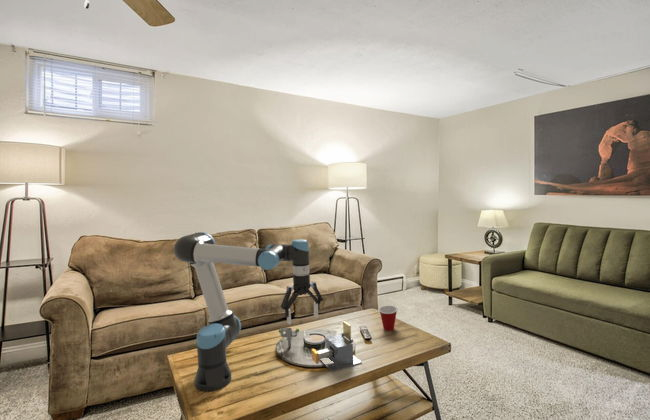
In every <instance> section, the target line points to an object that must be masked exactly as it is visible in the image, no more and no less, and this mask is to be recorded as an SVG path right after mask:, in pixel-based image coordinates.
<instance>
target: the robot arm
mask: <svg viewBox="0 0 650 420" xmlns="http://www.w3.org/2000/svg"><path fill="white" fill-rule="evenodd" d="M309 247H310V246H309V242H308V240H307V239H304V238H303V239H301V238H299V239H293V240H292V241H291V243H290V244H275V243H274V244H268V245H266V246H265V248H258V247H248V246H247V247H246V246H237V245H235V246H234V245H227V244H226V245H222V244H216V241H215V239H214V237H213V236H212V235H211V234H210V233H208V232H204V231H201V232H195V233H191V234H188V235H184V236H181V237H180V238H178V239H177V240H176V241H175V243H174V247H173V253H174V255H175V257H176V258H177V259H178V260H179V261H181V262H184V263H189V265H190V266H191V267H193V268H194V269H195V272H196V276H197V279H198V283H199V286H200V288H201V289H200V290H201V292H202V294H203V295H202V296H203V298H204V301H205V304H206V307H207V310H208V311H207V312H208V315H209V318H208V319H207V322H208V324H207V325H204V326H202V327H201V328H200V329H199V330H198V331H197V334H196V341H195V342H196V350H197V353H196V354H197V365H198V367H197V370H196V374H195V377H194V387H195V388H196V389H197V390H198V389H199V390H198V391H201V392H211V391H217V390H220V389H222V388H224V387H226V386H227V385H228V384H229V383H230V382H231V381H232V370H231V369H230V366H229V364H228V361H227V348H228V347H229V346H230V345H231V344H232V343H233V342H234V341H235V340H236V338H238V336H239V334H240V332H241V330H242V324H241V321H240V318H239V317H237V316H236V315H235V314H234V312H233V310H231V309H229V308H228V307H229V306H228V303H227V301H226V298H225V294H224V292H223V287H222V286H221V282H220V278H219V275H218V272H217V270H216V266H215V264H217V263H218V264H228V265H237V266H238V265H239V266H248V267H250V266H251V267H259V268H261V269H262V270H266V271H270V270H272V269H274V268H275V267H277V266H278V265H279V264H280V263H281V262H292V274H293V275H292V282H293V286H288V285H287V286H286V291H285V294H284V296H283V300H282V302H281V304H280V309H281V310H284V316H285V317H286V322H287V324H288V325H292V315H291V314H292V313H291V312H292V311H291V310H292V309H290V308H291V307H292V305H293V304H294V302H295V300H296V299H297V298H298V297H299V296H302V295H306V294H308V296H310V298H311V299H312V300H313V301H314V302H313V316H314V317H315V318H316V319H318V318H319V310H320V304H321V302H323V301H324V298H323V296H322V294H321V293H320V291H319V289H318V286H317V283H316V282H315V281H311V278H310V277H311V276H310V248H309ZM310 288H312V289H313V292H314V294H315V295H314V294H313V293H312V291H311V290H310ZM291 294H292V295H291Z"/></svg>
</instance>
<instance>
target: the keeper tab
mask: <svg viewBox="0 0 650 420" xmlns="http://www.w3.org/2000/svg"><path fill="white" fill-rule="evenodd" d="M342 326H343V327H342V329H343V331H342V333H343V335H344V337H345V338H346V339H347V340H349V339H351V338H352V326H351V324H349V323H348V322H346V321H345V320H343V321H342Z"/></svg>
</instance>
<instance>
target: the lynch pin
mask: <svg viewBox="0 0 650 420" xmlns="http://www.w3.org/2000/svg"><path fill="white" fill-rule="evenodd" d="M331 356H334V349H333V348H332V347H331V348H327V349H326V348H323V349H319V350H316V349H315V348H311V360H312V362H314V363H315V364H316V365H317V364H319V363H320V362H319V361H320V359H324V358H328V357H331Z"/></svg>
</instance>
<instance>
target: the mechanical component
mask: <svg viewBox="0 0 650 420" xmlns="http://www.w3.org/2000/svg"><path fill="white" fill-rule="evenodd" d="M299 332H300V329H299V328H295V330H293V329H292V327H280V329H278V333H280V337H281V338H286V340H287V348H288V347H291V348H292V338H296V337H297V336H298V333H299Z"/></svg>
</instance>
